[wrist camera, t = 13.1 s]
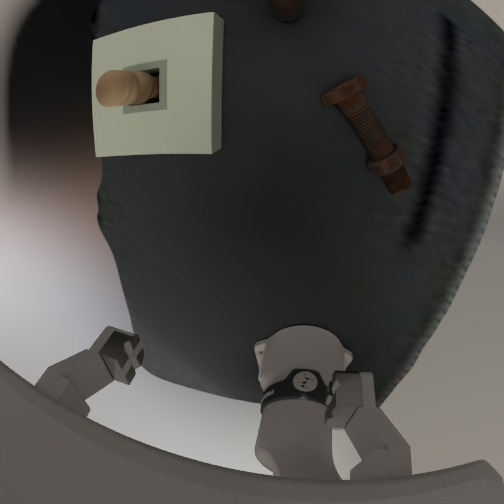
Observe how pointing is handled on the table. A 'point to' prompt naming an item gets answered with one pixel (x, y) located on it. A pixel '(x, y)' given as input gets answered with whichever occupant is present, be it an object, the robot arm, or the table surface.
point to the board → (163, 88)
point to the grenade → (287, 10)
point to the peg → (126, 88)
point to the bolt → (371, 134)
